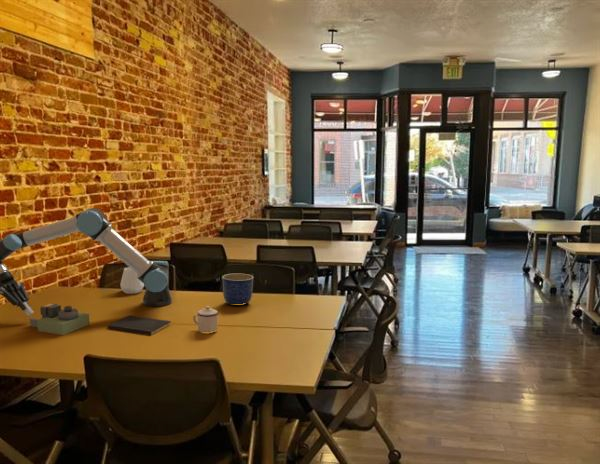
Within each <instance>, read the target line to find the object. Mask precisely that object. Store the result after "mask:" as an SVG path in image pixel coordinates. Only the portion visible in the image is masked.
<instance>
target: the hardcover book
mask: <svg viewBox="0 0 600 464" xmlns="http://www.w3.org/2000/svg"><path fill="white" fill-rule="evenodd" d="M171 322H172V321H171V320H166V319H164V320H163V319H157V318H152V317H144V316H138V315H130V314H129V315H128V316H125V317H123V318H121V319H118V320H117V321H114V322H112V323H110V324H108V325H107V330H113V331H118V332H119V331H120V332H127V333H131V332H132V334H138V333H139V335H144V334H149V335H148V336H152V335H154V334H156V333H157V332H156V331H158V330H160V329H161V328H163V327H165V326H166V325H168V324H170V325H171ZM165 328H166V327H165ZM160 331H161V330H160ZM155 332H156V333H155ZM158 332H159V331H158ZM153 333H154V334H153ZM151 334H152V335H151Z"/></svg>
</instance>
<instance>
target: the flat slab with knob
mask: <svg viewBox="0 0 600 464" xmlns="http://www.w3.org/2000/svg"><path fill="white" fill-rule="evenodd" d="M29 324H30V327H31V328H32V327H34V328H37V332H40V333H48V334H54V335H60V336H65V335H67V334H70V333H72V332H75V331H76V330H80V329H82V328H83V327H87V326H89V325H90V313H85V312H79V310H78V309H76V308H72V305H65V306H64V307H63V309H61V310H60V311H59V312H58V317H55V318H48V317H45V318H42V317H41V318H35V317H34V318H33V317H32V318H30V319H29Z"/></svg>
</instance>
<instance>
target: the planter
mask: <svg viewBox="0 0 600 464" xmlns="http://www.w3.org/2000/svg"><path fill="white" fill-rule="evenodd" d="M221 279H222V280H221V281H222V294H223V295H222V296H223V299H224V301H225V302H226V303H227V304H228V303H229V304H243V303H247V302H248V303H250V301H251V300H252V297H253V290H254V289H253V288H254V275H252V274H248V273H247V274H246V273H228V274H224V275H222V277H221ZM248 303H247V304H248ZM229 304H228V305H229Z"/></svg>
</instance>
